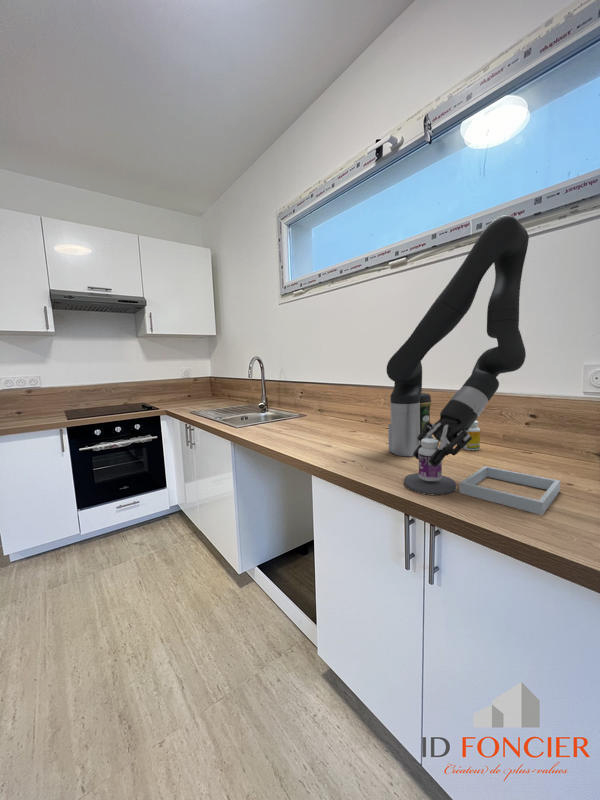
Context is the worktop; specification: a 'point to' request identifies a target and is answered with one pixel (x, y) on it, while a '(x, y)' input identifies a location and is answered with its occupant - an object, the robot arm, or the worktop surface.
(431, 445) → the pill bottle
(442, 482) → the charcoal mat
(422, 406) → the coffee jar
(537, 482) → the grey tray
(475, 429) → the supplement bottle
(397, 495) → the worktop surface
